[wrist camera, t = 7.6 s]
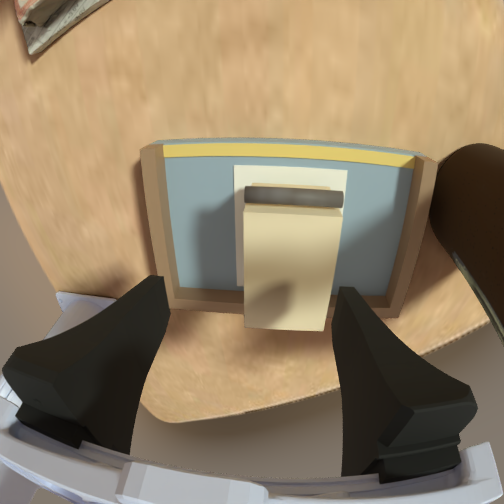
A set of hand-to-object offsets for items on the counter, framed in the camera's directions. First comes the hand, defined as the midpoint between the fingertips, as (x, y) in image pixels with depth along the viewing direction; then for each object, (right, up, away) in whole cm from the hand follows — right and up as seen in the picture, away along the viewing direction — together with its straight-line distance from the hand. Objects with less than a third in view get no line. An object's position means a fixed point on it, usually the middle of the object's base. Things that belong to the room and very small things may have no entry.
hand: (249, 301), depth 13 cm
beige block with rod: (+2, +4, +8) cm, 9 cm away
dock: (+3, +4, +9) cm, 11 cm away
